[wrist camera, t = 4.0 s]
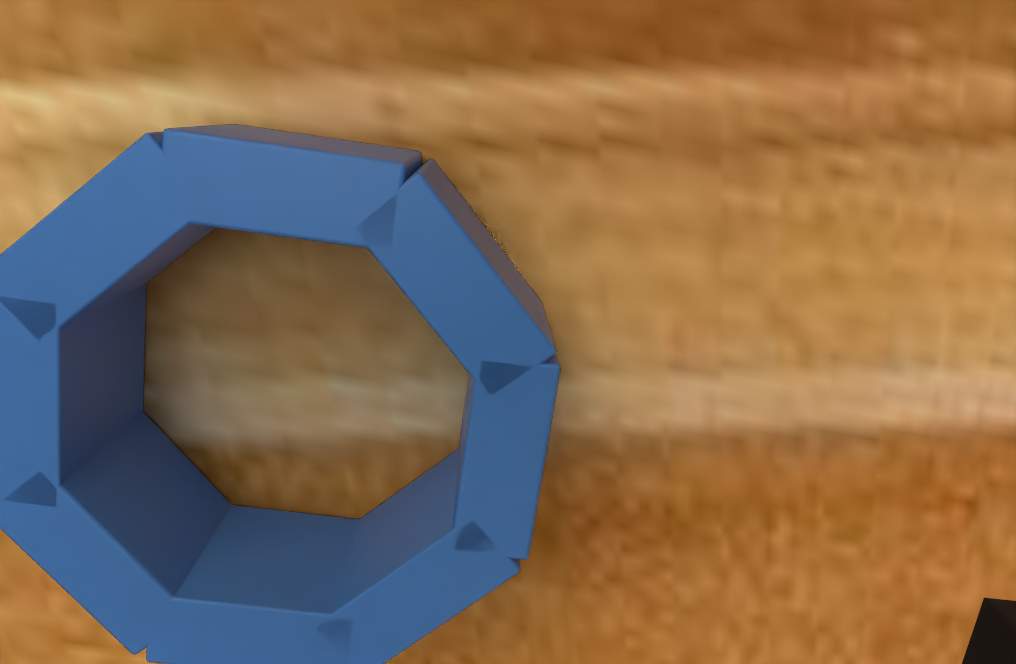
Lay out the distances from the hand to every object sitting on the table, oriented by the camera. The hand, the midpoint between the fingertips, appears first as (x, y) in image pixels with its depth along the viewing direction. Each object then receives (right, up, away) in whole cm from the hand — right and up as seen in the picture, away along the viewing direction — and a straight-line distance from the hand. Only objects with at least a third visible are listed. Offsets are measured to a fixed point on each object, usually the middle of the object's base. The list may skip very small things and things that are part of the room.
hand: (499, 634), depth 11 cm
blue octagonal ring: (-5, +3, +8) cm, 10 cm away
